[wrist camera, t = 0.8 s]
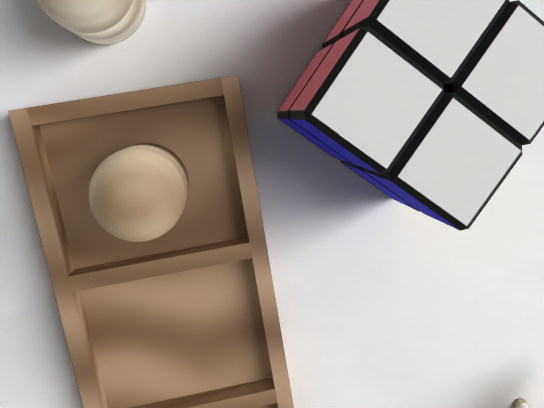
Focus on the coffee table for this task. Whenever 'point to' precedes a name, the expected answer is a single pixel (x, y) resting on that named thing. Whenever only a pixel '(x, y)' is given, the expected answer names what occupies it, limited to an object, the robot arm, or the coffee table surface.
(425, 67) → the puzzle cube
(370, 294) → the coffee table surface
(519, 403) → the bull figurine
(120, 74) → the coffee table surface
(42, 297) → the coffee table surface
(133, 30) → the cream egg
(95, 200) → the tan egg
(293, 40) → the coffee table surface
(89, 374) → the wooden compartment tray
